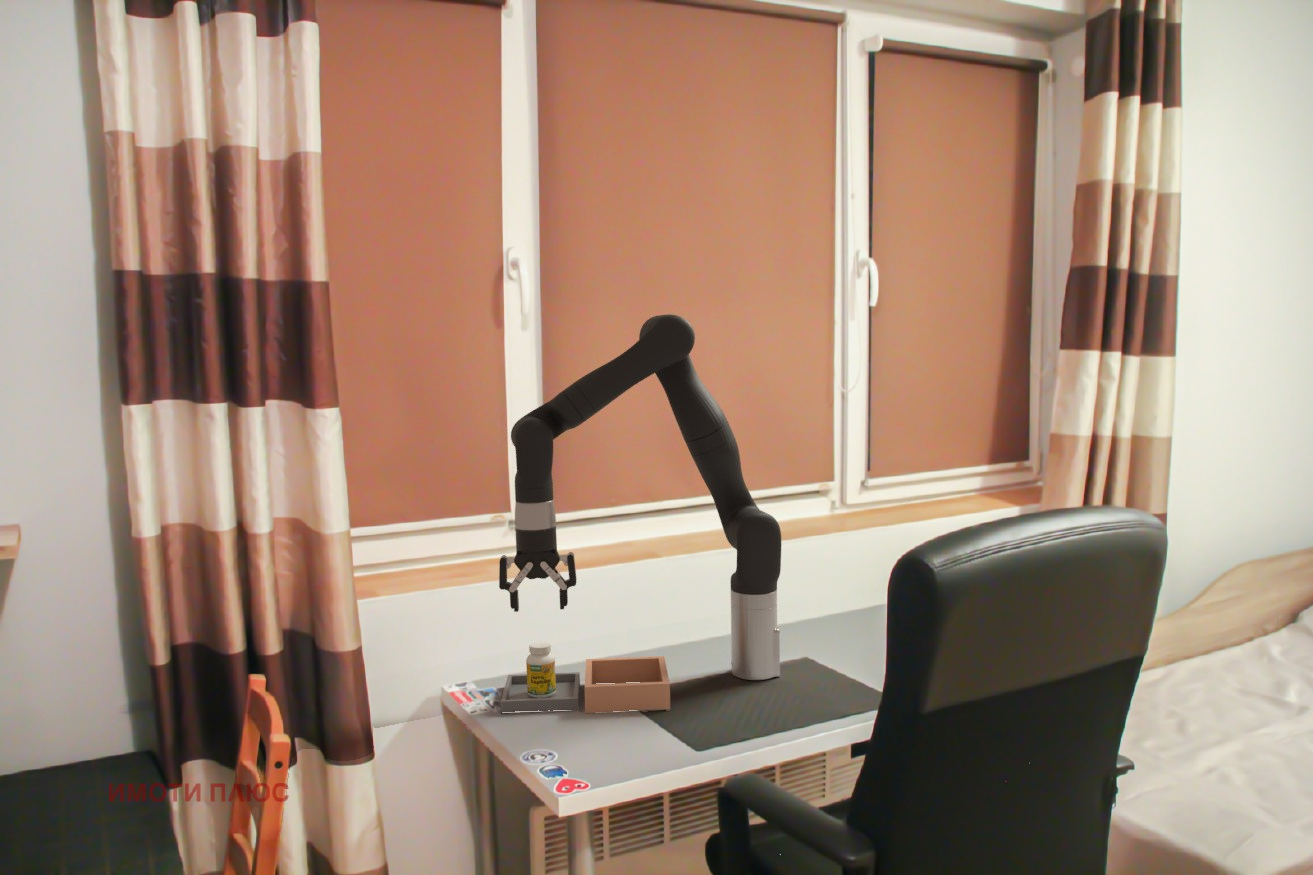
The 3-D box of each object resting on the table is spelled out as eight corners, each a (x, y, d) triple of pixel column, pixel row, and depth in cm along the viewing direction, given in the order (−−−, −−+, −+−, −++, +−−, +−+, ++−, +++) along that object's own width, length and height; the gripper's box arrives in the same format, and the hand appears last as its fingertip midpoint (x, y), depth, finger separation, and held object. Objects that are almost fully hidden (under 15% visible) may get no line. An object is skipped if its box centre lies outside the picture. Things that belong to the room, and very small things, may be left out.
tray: (580, 683, 188) (579, 672, 188) (578, 710, 174) (578, 698, 174) (508, 686, 188) (508, 675, 187) (501, 713, 174) (500, 701, 173)
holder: (664, 680, 189) (664, 656, 188) (670, 710, 174) (669, 683, 173) (586, 683, 188) (585, 659, 188) (585, 713, 173) (584, 687, 172)
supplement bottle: (555, 688, 184) (554, 639, 183) (556, 698, 179) (554, 648, 178) (527, 689, 183) (526, 640, 182) (527, 700, 178) (525, 649, 177)
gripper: (574, 519, 182) (577, 602, 183) (499, 522, 181) (503, 605, 183) (573, 526, 174) (576, 613, 176) (494, 530, 174) (499, 617, 175)
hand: (539, 609), depth 179 cm, fingers open, 8 cm apart
